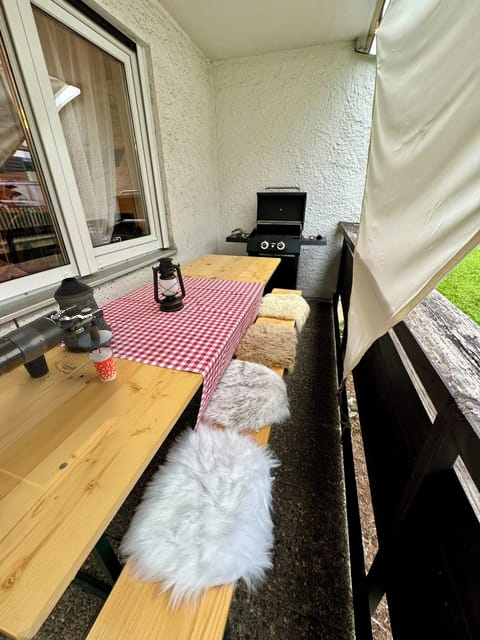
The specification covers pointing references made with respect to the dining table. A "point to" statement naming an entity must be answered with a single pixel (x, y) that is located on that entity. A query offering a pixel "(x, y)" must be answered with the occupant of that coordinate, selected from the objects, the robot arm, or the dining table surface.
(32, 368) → the drinking cup
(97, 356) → the beverage cup
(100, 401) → the dining table surface
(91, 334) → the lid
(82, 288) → the beer stein
